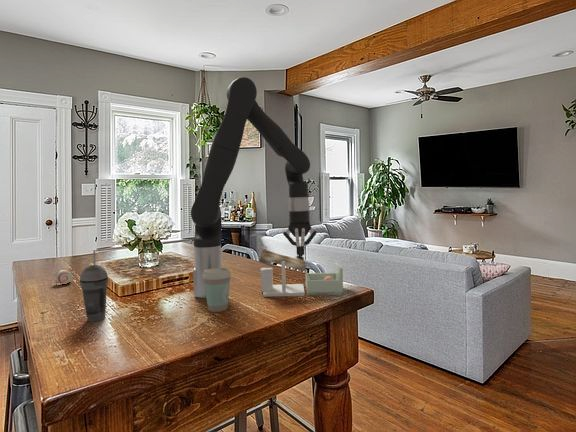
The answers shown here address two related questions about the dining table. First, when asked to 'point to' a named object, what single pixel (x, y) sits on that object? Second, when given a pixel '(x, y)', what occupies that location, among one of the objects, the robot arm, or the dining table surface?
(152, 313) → the dining table surface
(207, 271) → the coffee cup
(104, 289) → the beverage cup
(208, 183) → the robot arm
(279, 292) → the stand
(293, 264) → the lever trough
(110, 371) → the dining table surface
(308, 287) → the cup
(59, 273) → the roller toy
